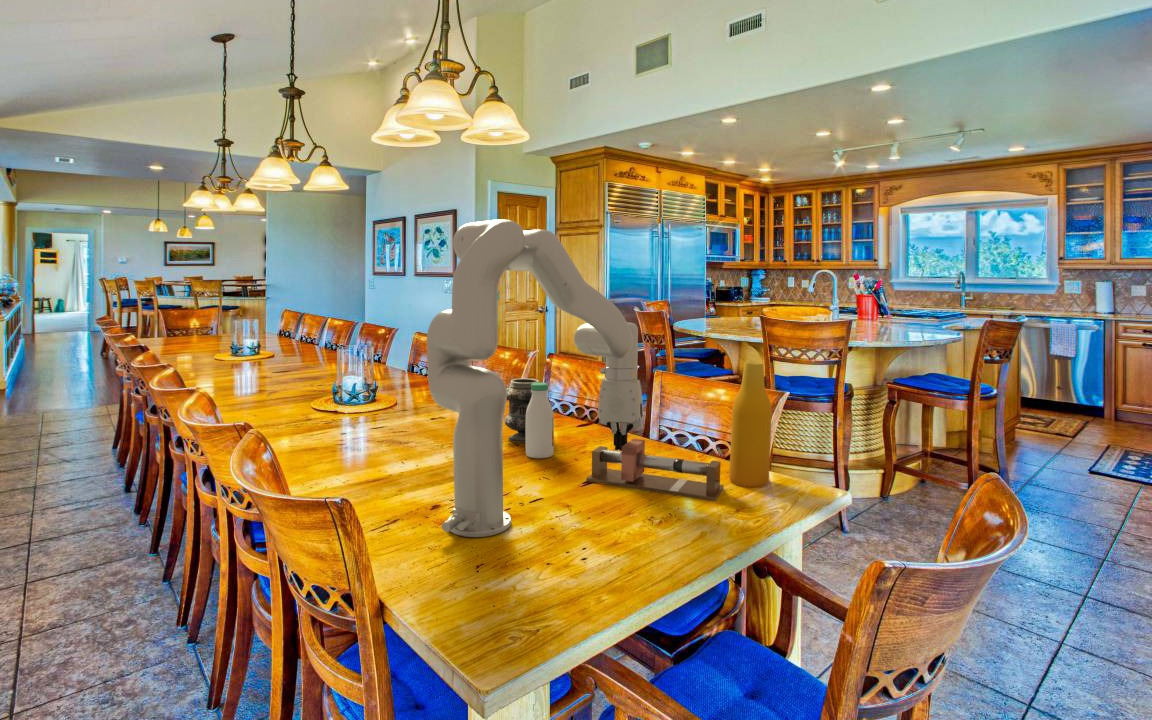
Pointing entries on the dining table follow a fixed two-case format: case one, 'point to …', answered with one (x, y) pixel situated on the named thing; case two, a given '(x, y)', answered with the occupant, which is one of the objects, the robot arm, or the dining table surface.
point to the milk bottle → (539, 423)
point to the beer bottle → (751, 430)
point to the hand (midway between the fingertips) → (620, 449)
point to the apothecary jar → (518, 407)
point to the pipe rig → (659, 483)
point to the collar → (631, 459)
